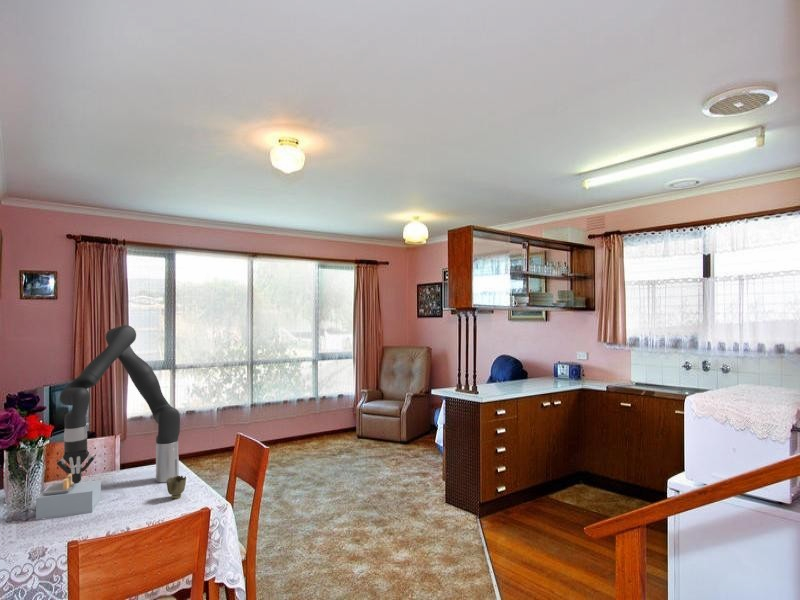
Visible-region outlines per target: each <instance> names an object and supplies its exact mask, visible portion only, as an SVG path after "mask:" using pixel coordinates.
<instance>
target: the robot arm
mask: <svg viewBox="0 0 800 600" xmlns="http://www.w3.org/2000/svg"><path fill="white" fill-rule="evenodd" d="M136 338H137V331H136V330H135V328H133V326H130V325H127V324H126V325H125V324H123V325H119V326H115V327H113V328H111V329H109V330H107V332H106V333H105V342H106V344H107V345H108V346H106V347H105V348H104V349H103V351H102V352H100V353H99V354H98V355H97V356H95V358H94V359H92V360H91V361H90V362H89V363H88V364H87V365H86V367H85V368H84V369H83V370H82V372H81V373H80V374H79V375H78V376H77V377H76V378H74V379H73V380H72V381H71V382H70V383H68V384H67V385H66V386H65V387H64V388H63V390H61V393H60V395H59V402H60V403H61V404H62V405H64V406H70V407H71V411H69V412H67V413H66V414H64V432H63V442H64V443H63V449H64V451H63V452H64V454H63V456H62V458H61V459H59V460H58V461H57V462H56V465H57V466H58V467H59V468H60V469H61V470H63V471H64V472H65V473H66V474H72V482H74V484H75V483H79V482H82V481H81V480H82V473H83V472H85V471H86V470H87V469H88V468H89V466H90V465H91V463H92V462H93V461H95V459H96V456H95V455H91V454H90V452H89V451H88V429H87V412H88V409H89V405H90V402H91V401H90V400H91V394H90V392H89V389H90V388H93V387H95V386H96V385H97V384H98V382H99V381H100V380H101V379H102V378H103V376H104V375H105V374H106V372H107V371H108V369H109V368H110V367H111V366H112V365H113V363H114V362H115V361H116V360H117V359H118V360H119V361H120V363H121V364H122V367H123V368H124V370H125V371H126V373H127V374H128V376H129V378H130V380H131V382H132V383H133V384H134V387H135V389H137V391H138V392H139V394H140V396H141V397H142V398H143V400H144V401H145V402H146V403H147V405H148V407H149V409H150V411H151V413H152V416H153V419H154V420H155V422H156V424H158V425H157V427H158V429H157V430H158V431H157V432H158V434H157V436H156V437H155V481H156V482H157V483H167V481H166V480H167V479H169V478H171V477H172V478H173V477H174V476H175V477H177V476H180V472H179V471H180V469H179V468H180V467H179V465H180V464H179V462H180V461H179V460H180V459H179V457H180V456H179V436H180V430H181V414H180V412H179V410H178V409H177V408H175V407H173V406H171V405H170V403H169V402H168V401H167V399H166V397H165V396H164V394H163V392H162V389H161V384H160V382H159V379H158V377H157V375H156V374H155V372H154V370H153V368H152V367H151V366H150V365H149V363H147V362H146V361H145V360H144V359H142V357H140V356H139V355H137V354H136V353H135V351H134V350H133V348H132V346H131V345H133V343H134V342H135V341H136ZM85 461H87V462H86V463H85V465H84V466H83V463H84V462H85ZM68 465H69V466H68Z"/></svg>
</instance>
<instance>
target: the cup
mask: <svg viewBox="0 0 800 600" xmlns="http://www.w3.org/2000/svg"><path fill="white" fill-rule="evenodd" d="M166 481H167V482H166V487H167V492H168V494H169V495H170V496H171V498H172V499H173V500H178V499H179V498H181V497H182V493H183V492H184V491H185V489H186V481H187V477H186V475H185V476H183V475H179V476H177V477H175V476H174V477H173V478H172V477H171V478H169V479H167V480H166Z"/></svg>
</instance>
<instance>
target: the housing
mask: <svg viewBox="0 0 800 600" xmlns="http://www.w3.org/2000/svg"><path fill="white" fill-rule="evenodd" d="M50 486H51V485H48V486H47V487H46V488H45V489H44V490H43V491H42V492H41V493H40V494H39V495H38V496H37V497H36V498H35V501H36V502H35V520H36V521H37V520H38V519H39V520H44V519H43V518H46V519H54V518H60V517H66V516H67V517H68V516H74V515H83V514H90V513H94V510H95V509H96V507H97V506H98V505H99V503H100V501H101V500H102V480H101V479H97V480H88V481H80V482H79V483H76V485H75V486H74V487H73V488H72V489H71V490H70V491H69V492H68V493H60V494H52V495H44V496H43V493H44V492H45V491H46V490H47V489H48V488H49V487H50Z"/></svg>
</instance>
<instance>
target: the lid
mask: <svg viewBox="0 0 800 600" xmlns="http://www.w3.org/2000/svg"><path fill="white" fill-rule="evenodd" d="M75 485H76V483H75V484H74V482H72V474H71V473H68V475H67V476H66V477H65V478H64V479H63V480H62V481H61V482H60V481H59V482H54V483H52V484H51V485H49V486H50V487H49V488H48V489H47V490H46V491H45V492H44V493H43V496H44V495H52V494H60V493H68V492H69V491H70V490H71V489H72V488H73V487H74V486H75Z"/></svg>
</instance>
